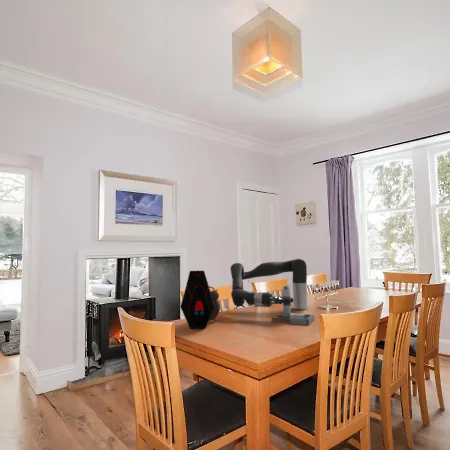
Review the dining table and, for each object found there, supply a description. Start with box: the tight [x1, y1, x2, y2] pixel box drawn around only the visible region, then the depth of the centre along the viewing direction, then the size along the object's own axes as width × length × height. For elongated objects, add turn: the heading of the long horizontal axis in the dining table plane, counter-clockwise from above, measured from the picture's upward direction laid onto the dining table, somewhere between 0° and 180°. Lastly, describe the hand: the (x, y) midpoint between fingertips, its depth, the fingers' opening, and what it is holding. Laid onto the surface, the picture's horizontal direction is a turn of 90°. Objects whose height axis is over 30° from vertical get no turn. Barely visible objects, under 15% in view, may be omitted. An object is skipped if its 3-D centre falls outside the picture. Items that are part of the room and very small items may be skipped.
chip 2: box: [297, 313, 306, 319], centre depth 188 cm, size 4×4×4 cm
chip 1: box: [289, 312, 298, 318], centre depth 190 cm, size 4×4×4 cm
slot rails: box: [271, 313, 290, 324], centre depth 192 cm, size 10×11×2 cm
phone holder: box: [247, 291, 276, 308], centre depth 246 cm, size 18×10×12 cm
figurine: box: [180, 270, 215, 330], centre depth 180 cm, size 18×8×30 cm, turn 84°
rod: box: [282, 284, 292, 318], centre depth 192 cm, size 6×4×18 cm
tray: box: [289, 313, 315, 326], centre depth 188 cm, size 13×10×3 cm
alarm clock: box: [209, 285, 221, 323], centre depth 193 cm, size 15×7×20 cm, turn 81°
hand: (291, 300), depth 191 cm, fingers closed on rod, 4 cm apart
